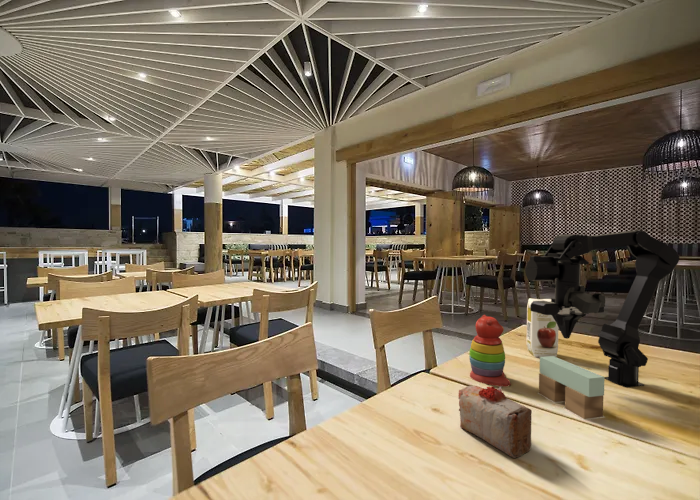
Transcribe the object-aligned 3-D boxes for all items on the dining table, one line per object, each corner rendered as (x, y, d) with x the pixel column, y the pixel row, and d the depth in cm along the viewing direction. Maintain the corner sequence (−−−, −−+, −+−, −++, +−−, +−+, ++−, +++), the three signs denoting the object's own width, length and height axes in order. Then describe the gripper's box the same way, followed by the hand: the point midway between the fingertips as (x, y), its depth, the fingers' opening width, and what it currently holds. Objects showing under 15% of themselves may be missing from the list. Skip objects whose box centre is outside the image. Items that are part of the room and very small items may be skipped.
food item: (451, 426, 72) (452, 380, 72) (477, 417, 76) (478, 372, 76) (511, 463, 60) (512, 407, 60) (537, 449, 64) (538, 397, 64)
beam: (539, 372, 87) (539, 357, 87) (552, 371, 88) (553, 355, 88) (588, 397, 74) (589, 378, 73) (604, 395, 74) (604, 377, 74)
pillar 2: (582, 405, 80) (583, 384, 80) (603, 416, 75) (603, 394, 75) (564, 408, 79) (565, 386, 79) (584, 419, 74) (584, 396, 74)
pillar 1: (555, 391, 88) (555, 371, 88) (572, 400, 83) (572, 379, 83) (538, 393, 87) (539, 373, 87) (554, 402, 82) (554, 381, 82)
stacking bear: (512, 389, 90) (513, 321, 90) (472, 385, 92) (472, 319, 92) (502, 373, 101) (503, 313, 100) (466, 371, 103) (467, 311, 103)
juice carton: (524, 350, 122) (525, 297, 122) (550, 351, 121) (551, 298, 121) (532, 357, 115) (533, 301, 114) (560, 359, 114) (561, 301, 113)
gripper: (562, 285, 83) (561, 349, 84) (624, 283, 87) (623, 344, 88) (529, 280, 94) (528, 337, 95) (585, 279, 98) (584, 333, 99)
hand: (566, 338), depth 94 cm, fingers closed
